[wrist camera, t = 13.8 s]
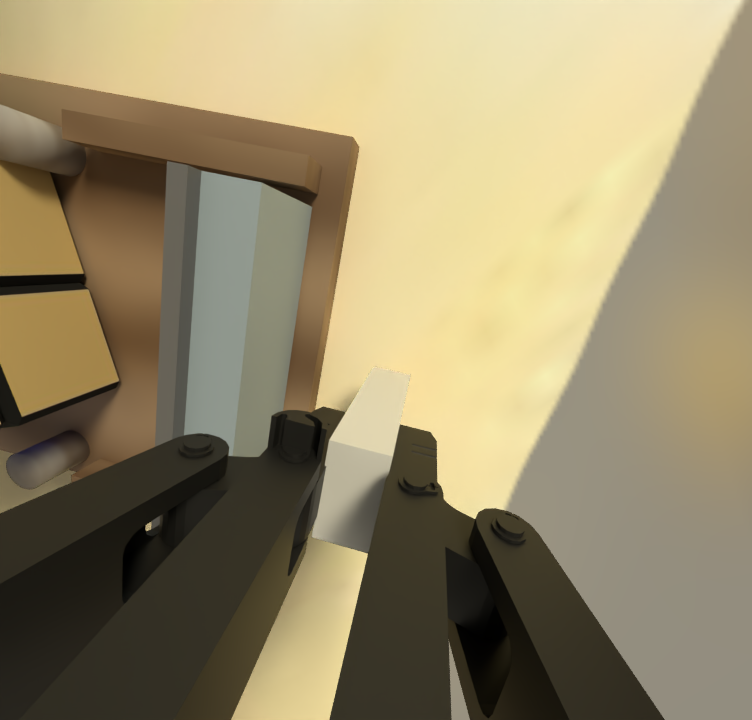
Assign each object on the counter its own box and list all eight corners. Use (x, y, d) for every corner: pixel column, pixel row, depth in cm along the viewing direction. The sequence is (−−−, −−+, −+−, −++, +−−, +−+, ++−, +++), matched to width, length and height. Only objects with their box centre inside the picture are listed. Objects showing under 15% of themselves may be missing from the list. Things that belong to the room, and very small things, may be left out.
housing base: (-141, 55, 17) (-316, -9, 13) (359, 147, 15) (331, 103, 11) (-87, 408, 22) (-204, 440, 18) (296, 517, 20) (261, 581, 16)
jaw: (254, 195, 15) (167, 160, 10) (312, 207, 14) (251, 177, 10) (224, 488, 18) (149, 566, 14) (269, 501, 18) (210, 585, 13)
